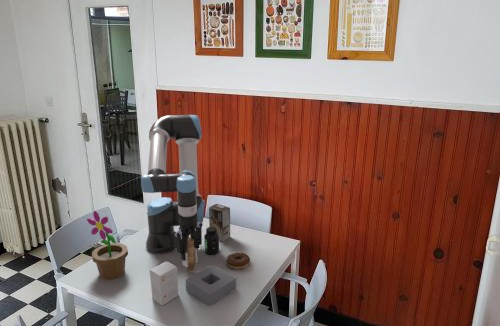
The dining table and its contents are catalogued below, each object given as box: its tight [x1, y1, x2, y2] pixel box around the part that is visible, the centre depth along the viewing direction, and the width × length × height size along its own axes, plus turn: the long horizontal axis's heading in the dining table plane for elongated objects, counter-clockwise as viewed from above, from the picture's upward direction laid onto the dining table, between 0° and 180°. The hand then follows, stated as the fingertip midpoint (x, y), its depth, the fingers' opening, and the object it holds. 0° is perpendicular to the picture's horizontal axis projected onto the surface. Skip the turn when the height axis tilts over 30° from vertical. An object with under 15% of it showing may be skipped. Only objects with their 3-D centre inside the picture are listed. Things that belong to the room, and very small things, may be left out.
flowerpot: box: [86, 210, 129, 280], centre depth 159 cm, size 14×14×30 cm
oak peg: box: [185, 236, 196, 273], centre depth 161 cm, size 4×4×14 cm
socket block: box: [185, 264, 237, 307], centre depth 152 cm, size 14×14×5 cm
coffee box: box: [208, 203, 231, 242], centre depth 192 cm, size 9×6×16 cm
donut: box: [225, 251, 251, 270], centre depth 170 cm, size 11×11×4 cm
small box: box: [149, 261, 179, 307], centre depth 146 cm, size 8×6×13 cm
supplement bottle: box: [203, 226, 220, 256], centre depth 178 cm, size 7×7×12 cm
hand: (190, 263), depth 163 cm, fingers closed on oak peg, 4 cm apart
